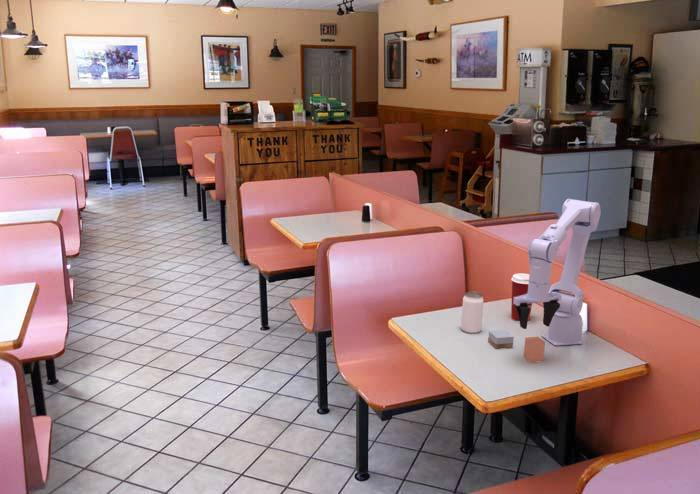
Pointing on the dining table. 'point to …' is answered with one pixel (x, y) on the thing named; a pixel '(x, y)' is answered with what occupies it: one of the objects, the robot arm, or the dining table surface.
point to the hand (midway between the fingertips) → (534, 326)
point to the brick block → (534, 349)
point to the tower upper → (501, 337)
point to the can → (472, 312)
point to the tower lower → (499, 346)
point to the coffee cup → (519, 291)
